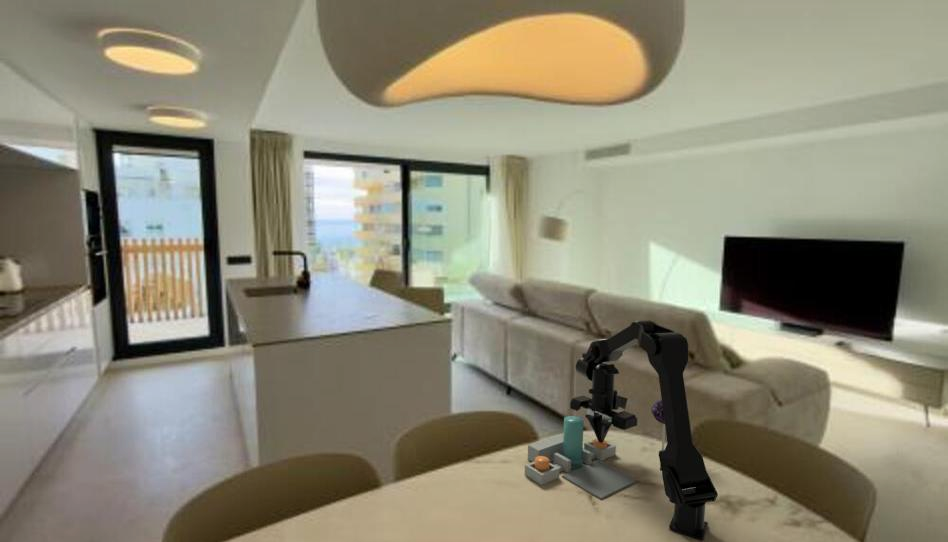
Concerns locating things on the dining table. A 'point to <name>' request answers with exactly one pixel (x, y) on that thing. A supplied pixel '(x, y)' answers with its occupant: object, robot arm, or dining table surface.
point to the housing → (560, 457)
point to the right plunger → (599, 444)
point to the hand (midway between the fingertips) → (600, 441)
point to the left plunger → (542, 463)
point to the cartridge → (573, 440)
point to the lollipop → (659, 417)
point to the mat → (600, 479)
